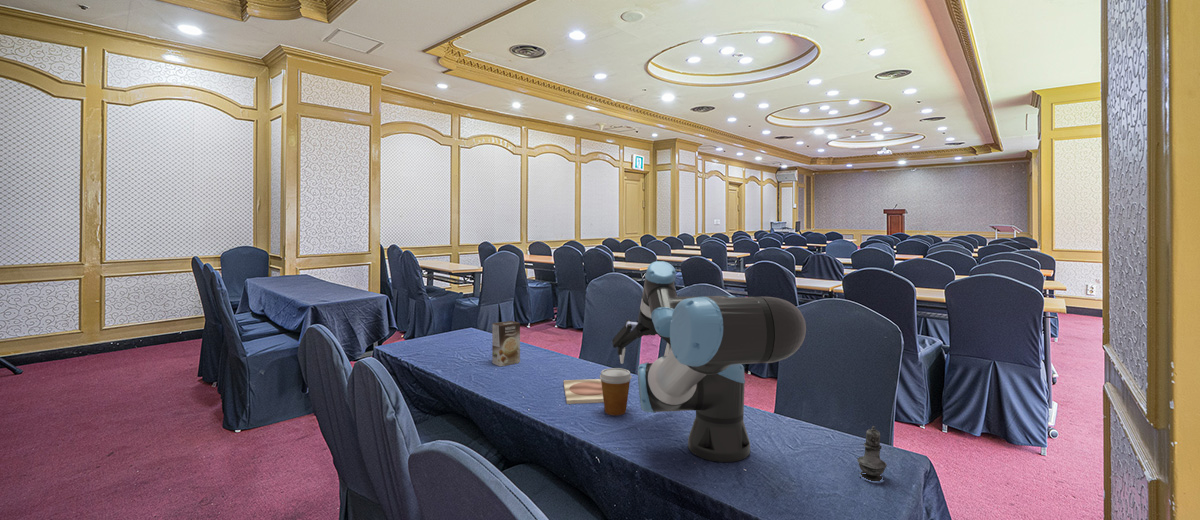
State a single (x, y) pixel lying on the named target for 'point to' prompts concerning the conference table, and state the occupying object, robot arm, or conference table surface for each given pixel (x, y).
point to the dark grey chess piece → (872, 457)
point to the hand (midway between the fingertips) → (643, 359)
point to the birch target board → (583, 391)
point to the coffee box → (505, 343)
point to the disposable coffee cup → (615, 390)
